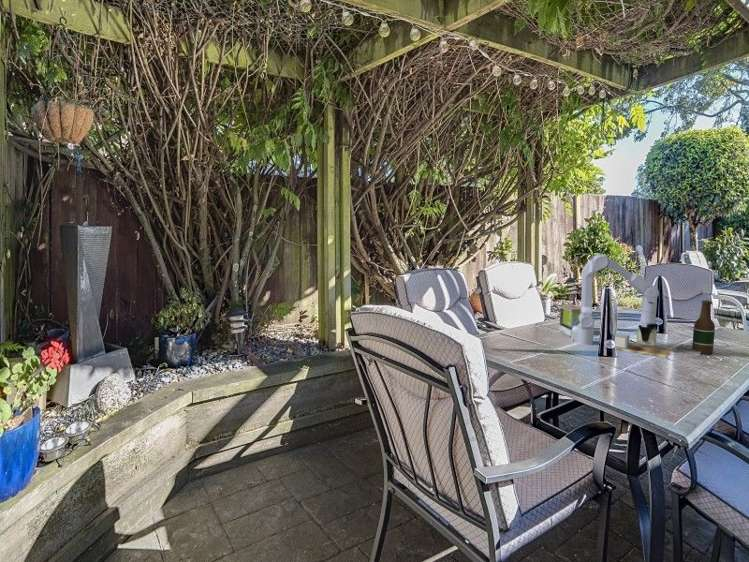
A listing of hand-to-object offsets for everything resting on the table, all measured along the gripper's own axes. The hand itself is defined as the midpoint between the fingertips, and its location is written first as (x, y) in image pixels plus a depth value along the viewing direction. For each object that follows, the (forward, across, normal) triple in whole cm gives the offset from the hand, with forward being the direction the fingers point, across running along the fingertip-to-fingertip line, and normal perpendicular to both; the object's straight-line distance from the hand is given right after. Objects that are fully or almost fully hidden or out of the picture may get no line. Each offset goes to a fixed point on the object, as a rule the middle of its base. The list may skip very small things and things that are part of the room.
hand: (646, 340), depth 208 cm
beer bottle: (+5, +12, -20) cm, 24 cm away
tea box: (+5, +12, +36) cm, 38 cm away
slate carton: (+4, -10, +9) cm, 14 cm away
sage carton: (+2, 0, 0) cm, 2 cm away
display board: (+5, -4, +2) cm, 7 cm away
